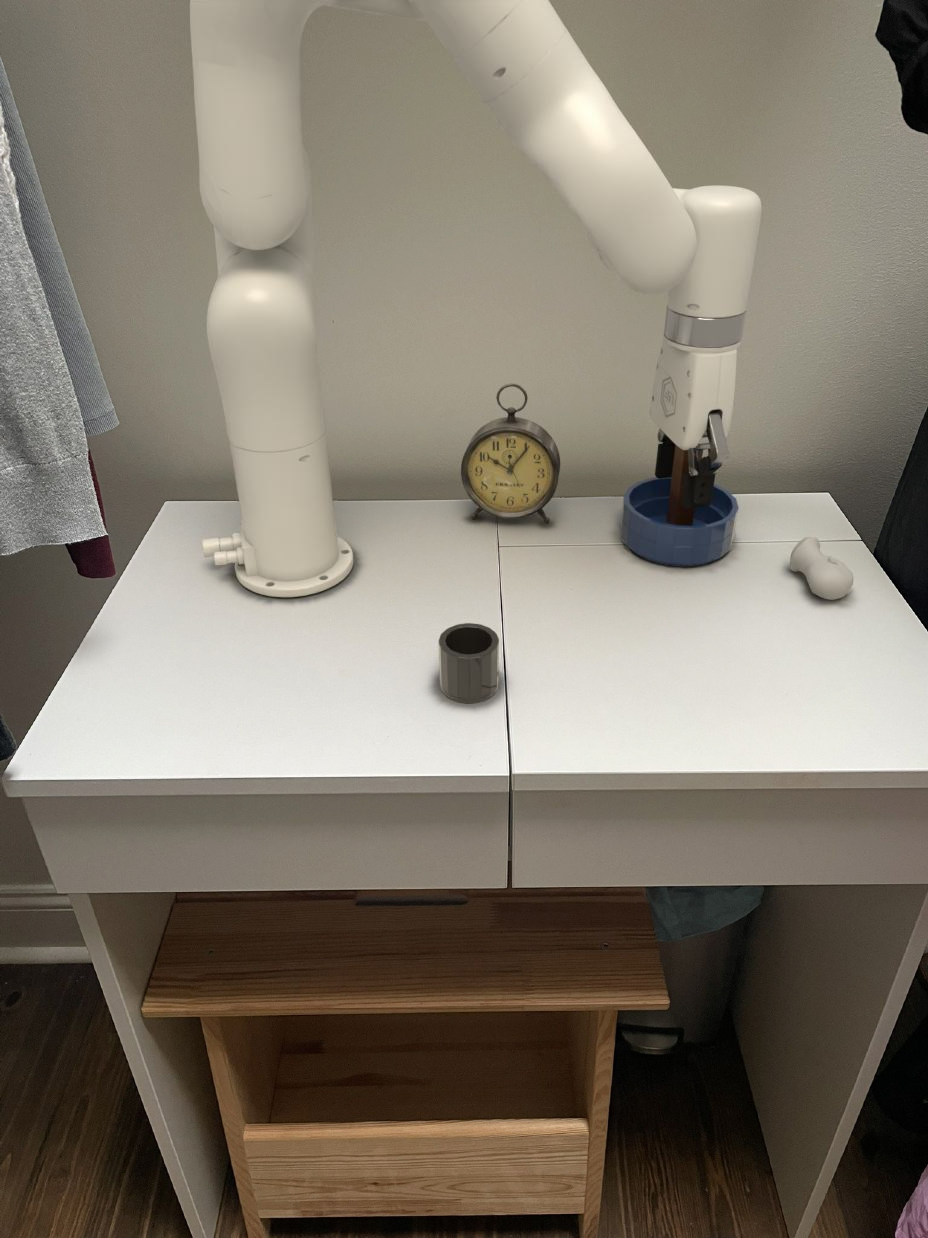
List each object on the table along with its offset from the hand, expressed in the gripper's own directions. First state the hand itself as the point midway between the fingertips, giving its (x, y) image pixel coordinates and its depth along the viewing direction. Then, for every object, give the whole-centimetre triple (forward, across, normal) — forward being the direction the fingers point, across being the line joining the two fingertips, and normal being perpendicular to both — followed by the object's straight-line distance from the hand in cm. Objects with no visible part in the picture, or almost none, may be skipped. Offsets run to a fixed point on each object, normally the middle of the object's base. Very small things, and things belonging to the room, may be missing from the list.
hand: (681, 489), depth 102 cm
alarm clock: (+7, -10, -16) cm, 20 cm away
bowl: (+6, 0, 0) cm, 6 cm away
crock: (+6, +20, -28) cm, 35 cm away
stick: (+6, 0, 0) cm, 6 cm away
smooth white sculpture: (+7, +12, +11) cm, 18 cm away
